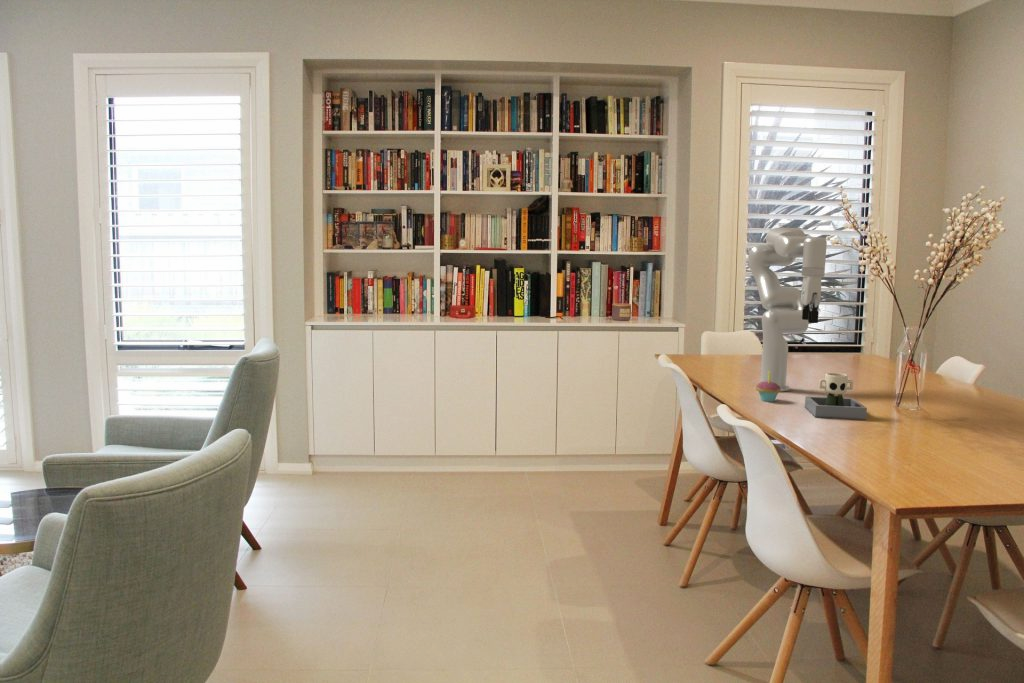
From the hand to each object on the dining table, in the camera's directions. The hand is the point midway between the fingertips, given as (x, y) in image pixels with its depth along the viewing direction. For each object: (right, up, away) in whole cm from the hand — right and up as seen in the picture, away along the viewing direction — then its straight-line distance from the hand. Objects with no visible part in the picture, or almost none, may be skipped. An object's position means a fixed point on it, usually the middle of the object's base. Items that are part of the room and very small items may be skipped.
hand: (809, 321), depth 277 cm
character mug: (+4, -32, -11) cm, 34 cm away
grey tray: (+4, -32, -11) cm, 34 cm away
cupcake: (-12, -29, +10) cm, 33 cm away
